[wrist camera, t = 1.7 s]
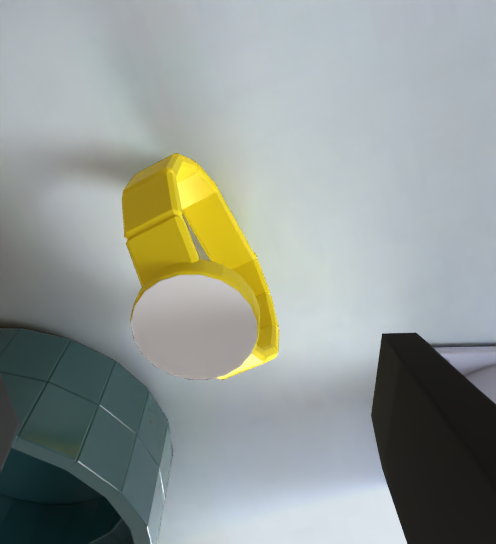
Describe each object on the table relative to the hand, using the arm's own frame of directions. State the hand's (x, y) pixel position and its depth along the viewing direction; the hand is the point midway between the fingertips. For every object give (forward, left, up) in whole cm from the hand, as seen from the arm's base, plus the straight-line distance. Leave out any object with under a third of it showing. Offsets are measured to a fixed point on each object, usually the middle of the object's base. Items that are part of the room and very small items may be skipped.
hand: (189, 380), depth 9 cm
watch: (0, 0, -8) cm, 8 cm away
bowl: (+8, +9, -7) cm, 14 cm away
